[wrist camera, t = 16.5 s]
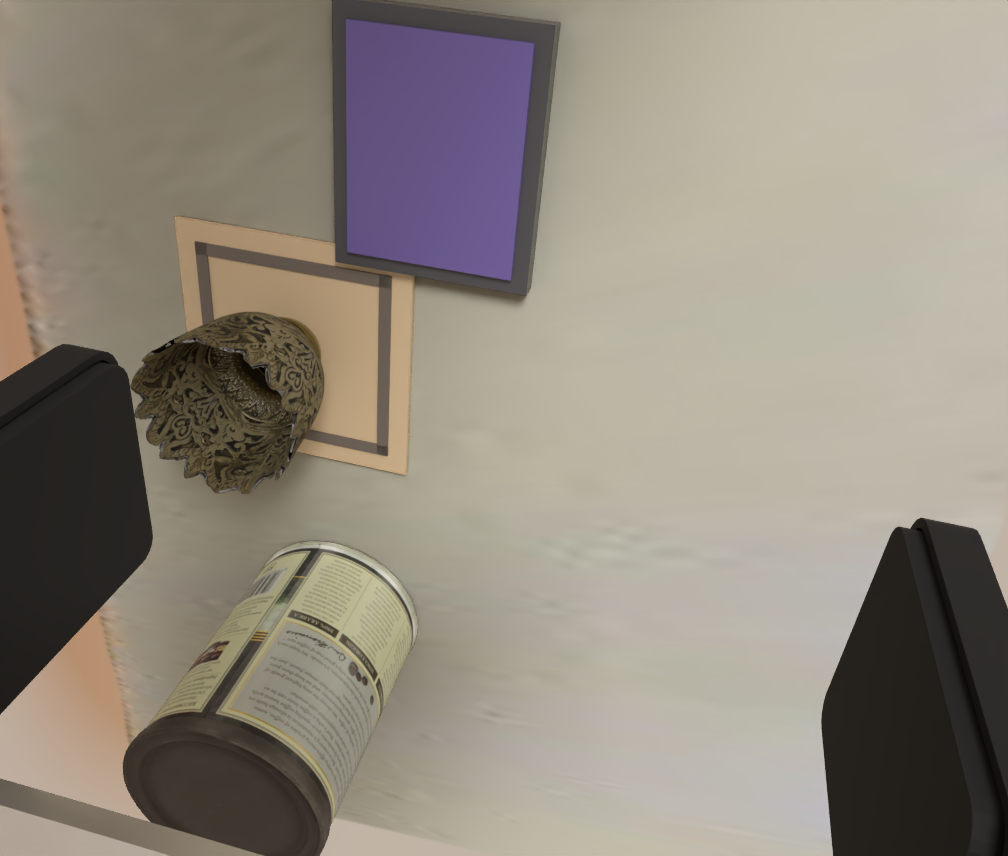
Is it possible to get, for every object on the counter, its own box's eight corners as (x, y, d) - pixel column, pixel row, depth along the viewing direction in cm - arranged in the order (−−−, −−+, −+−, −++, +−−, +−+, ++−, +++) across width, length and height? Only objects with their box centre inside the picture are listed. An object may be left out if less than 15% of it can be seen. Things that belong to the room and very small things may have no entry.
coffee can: (383, 695, 56) (284, 905, 44) (240, 617, 55) (102, 808, 43) (447, 597, 50) (355, 806, 38) (290, 509, 50) (147, 694, 38)
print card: (177, 215, 42) (173, 218, 42) (415, 257, 40) (412, 260, 40) (200, 427, 48) (197, 431, 48) (407, 472, 46) (404, 476, 46)
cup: (276, 428, 47) (195, 513, 40) (197, 307, 44) (97, 377, 37) (389, 384, 43) (322, 469, 37) (311, 252, 41) (224, 317, 34)
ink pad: (341, -5, 35) (328, -3, 34) (560, 22, 34) (554, 25, 33) (344, 254, 41) (332, 264, 40) (530, 287, 39) (524, 298, 38)
